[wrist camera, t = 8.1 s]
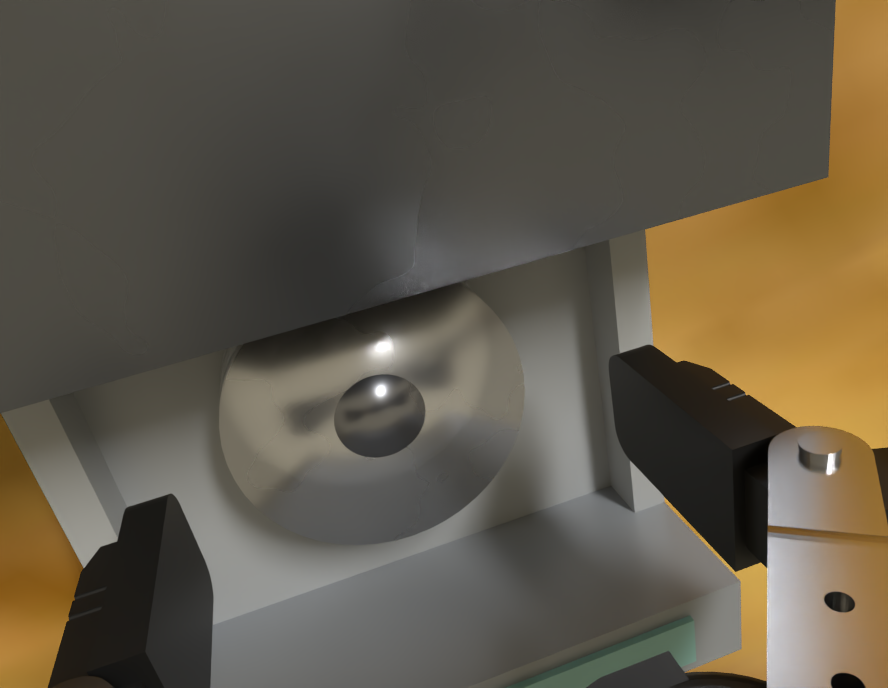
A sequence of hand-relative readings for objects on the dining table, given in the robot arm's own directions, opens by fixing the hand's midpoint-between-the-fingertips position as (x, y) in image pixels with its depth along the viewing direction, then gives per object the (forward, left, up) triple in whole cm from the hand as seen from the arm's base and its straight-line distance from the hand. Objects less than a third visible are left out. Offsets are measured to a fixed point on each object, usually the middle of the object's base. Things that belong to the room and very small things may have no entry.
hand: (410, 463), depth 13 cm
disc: (0, 0, -3) cm, 3 cm away
